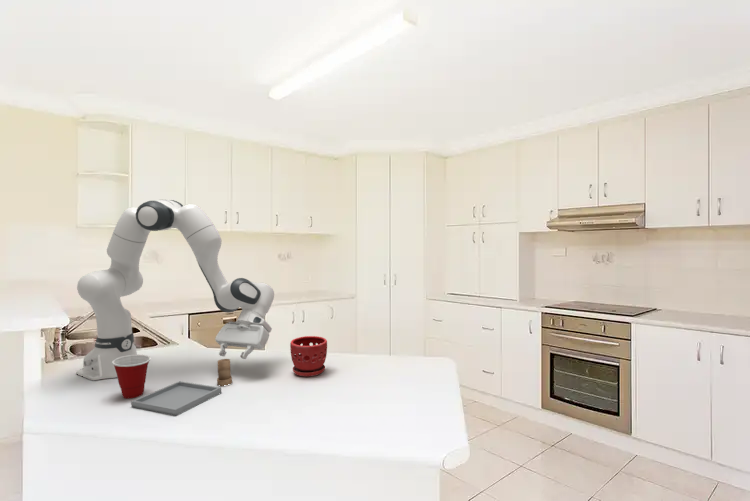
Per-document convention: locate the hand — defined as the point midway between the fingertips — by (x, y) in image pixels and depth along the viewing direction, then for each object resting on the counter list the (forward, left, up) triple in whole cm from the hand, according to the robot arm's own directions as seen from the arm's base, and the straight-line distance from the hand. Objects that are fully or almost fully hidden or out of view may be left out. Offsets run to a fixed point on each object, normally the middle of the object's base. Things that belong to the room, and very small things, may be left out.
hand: (232, 356), depth 151 cm
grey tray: (-4, -20, -8) cm, 22 cm away
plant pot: (+22, +15, -8) cm, 28 cm away
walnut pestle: (0, -4, -8) cm, 9 cm away
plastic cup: (-21, -22, -8) cm, 32 cm away
